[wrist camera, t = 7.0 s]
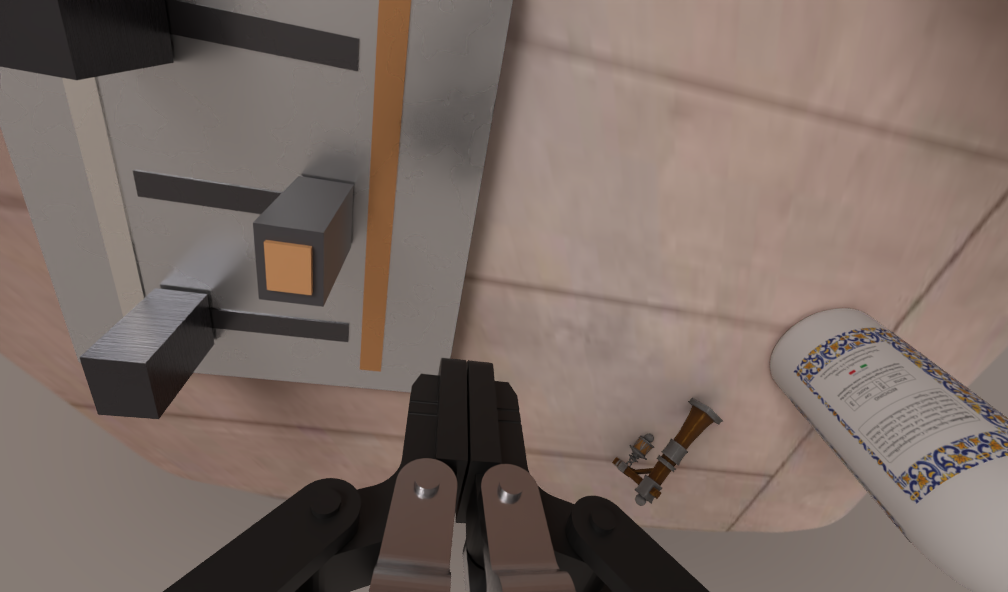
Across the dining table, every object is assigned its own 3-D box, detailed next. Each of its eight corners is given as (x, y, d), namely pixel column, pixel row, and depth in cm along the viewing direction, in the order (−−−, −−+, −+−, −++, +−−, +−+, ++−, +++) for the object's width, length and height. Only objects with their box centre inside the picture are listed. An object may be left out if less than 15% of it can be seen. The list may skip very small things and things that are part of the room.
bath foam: (858, 377, 33) (1287, 774, 16) (759, 395, 33) (1080, 807, 16) (884, 295, 29) (1478, 694, 12) (773, 315, 29) (1206, 737, 12)
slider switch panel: (514, -26, 19) (538, -42, 13) (444, 382, 30) (440, 472, 24) (-66, -169, 16) (-380, -275, 10) (93, 348, 27) (-11, 444, 21)
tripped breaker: (353, 184, 22) (322, 235, 17) (351, 247, 23) (322, 309, 18) (298, 175, 21) (250, 224, 16) (300, 240, 23) (257, 302, 18)
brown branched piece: (599, 467, 34) (637, 506, 30) (666, 382, 35) (712, 409, 31) (614, 478, 35) (653, 517, 31) (679, 395, 36) (725, 422, 32)
